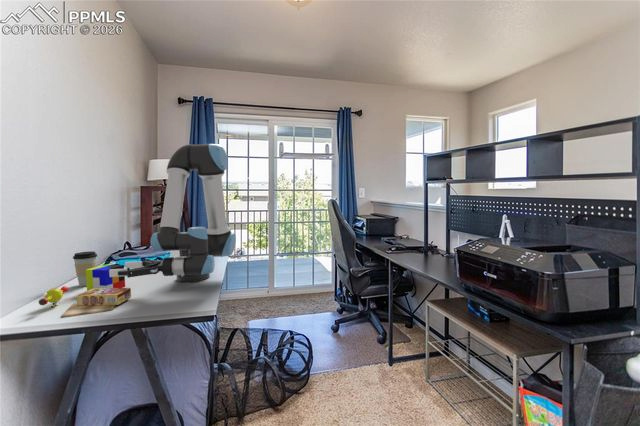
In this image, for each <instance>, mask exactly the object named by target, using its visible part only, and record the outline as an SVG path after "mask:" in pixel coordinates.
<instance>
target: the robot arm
mask: <svg viewBox="0 0 640 426" xmlns="http://www.w3.org/2000/svg"><path fill="white" fill-rule="evenodd" d="M228 164H229V161H228V155H227V153H226V150H225V149H224V147H223V146H222V145H220V144H217V143H204V144H202V143H200V144H185V145H183V146H181V147H179V148H178V149H177V150H175V152H173V154H172V155H171V157H170V158H169V161H168V163H167V167H166V173H167V174H166V175H168V176H167V182H166V183H167V184H166V187H165V188H166V189H165V194H164V201H163V207H162V212H161V219H160V225H159V230H158V231H157V232H154V233H152V235H151V237H150V246H151V248H152V250H154V251H161V252H170V251H173V252H174V251H178V252H179V256H175V257H174V256H173V257H172V256H171V257H170V256H169V257H166V256H165V257H164V258H163V260H157V259H156V260H153V259H152V260H151V259H146V260H143V261H141V260H140V261H139V260H138V261H125V262H124V269H111V270H109V275H110V277H120V276H125V277H127V278H129V279H130V278H136V277H141V276H147V275H157V274H159V273H160V272H162V275H163V276H164V277H173V276H176V281H178V282H180V283H181V282H182V283H189V282H190V283H191V282H199V281H203V280H206V279H208V278H210V277H211V275H210V274H212V273H214V270H215V267H216V266H215V257H216V258H217V257H218V258H219V257H221V258H223V257H224V258H225V257H230V256H232V255H233V254H234V251H235V248H236V233H235V232H232V231H231V227H230V226H229V225H228V223H227V215H226V206H225V205H226V204H225V196H224V188H223V177H224V175H225V171H226V170H228V167H229V165H228ZM192 171H194V172H195V171H197V175H198V177H199V178H201V180H202V181H201V182H202V188H203V195H204V203H205V210H206V219H207V228H206V226H192V227H188V228H187V231H180V225H181V219H182V213H183V207H184V200H185V194H186V193H185V192H186V186H187V179H188V178H189V177H190V175H191V172H192Z"/></svg>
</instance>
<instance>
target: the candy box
mask: <svg viewBox="0 0 640 426" xmlns="http://www.w3.org/2000/svg"><path fill="white" fill-rule="evenodd" d="M131 298H132V289H131V287H123V288H103V289H91V290H89V291H87V290H86V291H85V292H82V293H79V294H78V295H76V304H77V306H87V305H115V306H118V305H120V304H122V303H123V302H125V301H127V300H129V299H131Z"/></svg>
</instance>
